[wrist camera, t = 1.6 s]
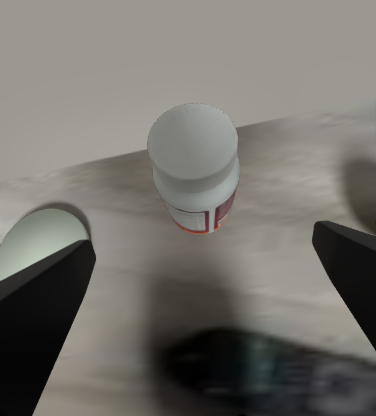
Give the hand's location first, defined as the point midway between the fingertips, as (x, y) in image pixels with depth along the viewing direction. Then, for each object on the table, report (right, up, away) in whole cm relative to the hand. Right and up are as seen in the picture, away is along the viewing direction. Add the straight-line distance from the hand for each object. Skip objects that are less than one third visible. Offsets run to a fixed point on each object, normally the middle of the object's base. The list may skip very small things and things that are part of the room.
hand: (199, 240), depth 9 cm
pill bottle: (+1, +1, +14) cm, 14 cm away
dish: (-15, -3, +14) cm, 20 cm away
